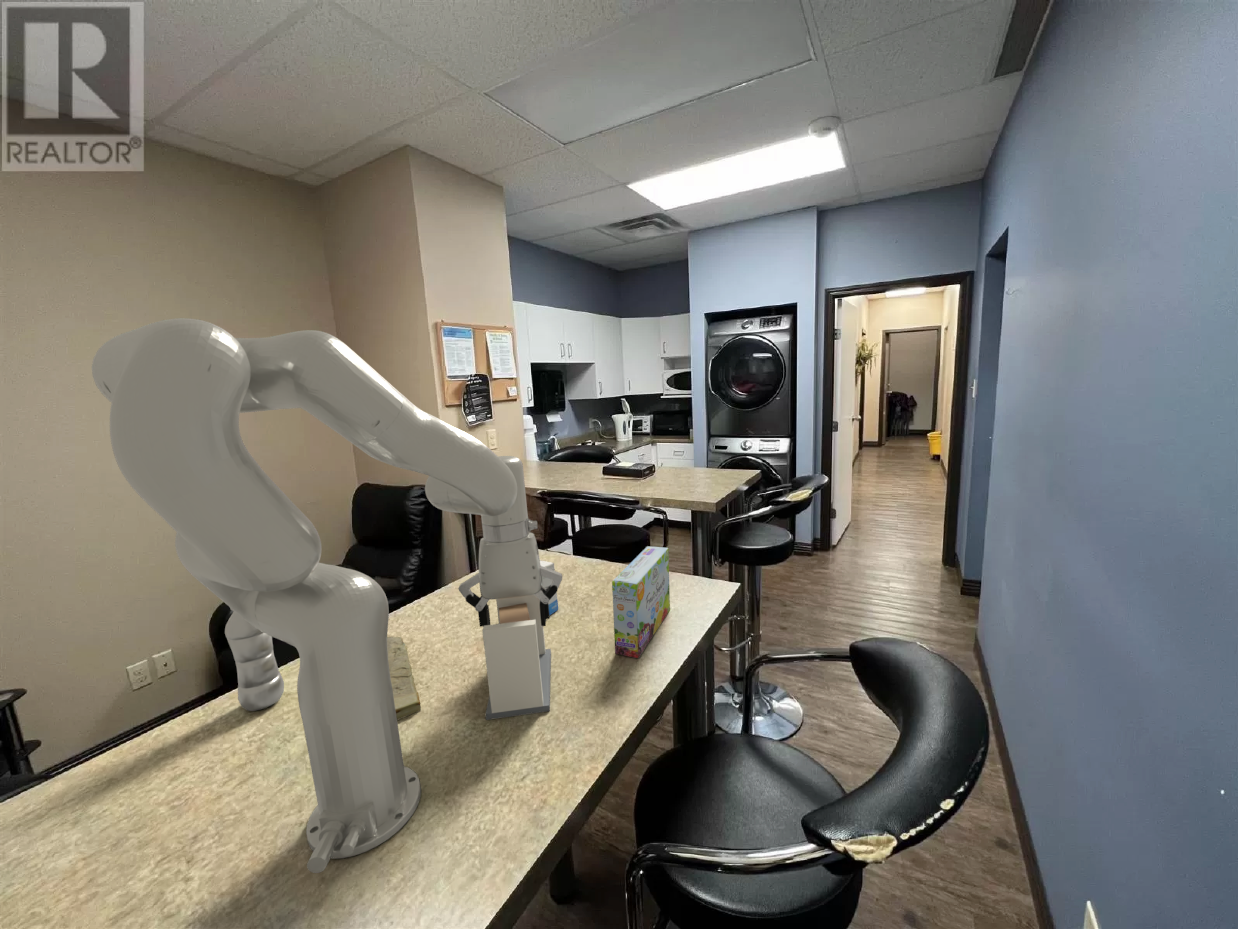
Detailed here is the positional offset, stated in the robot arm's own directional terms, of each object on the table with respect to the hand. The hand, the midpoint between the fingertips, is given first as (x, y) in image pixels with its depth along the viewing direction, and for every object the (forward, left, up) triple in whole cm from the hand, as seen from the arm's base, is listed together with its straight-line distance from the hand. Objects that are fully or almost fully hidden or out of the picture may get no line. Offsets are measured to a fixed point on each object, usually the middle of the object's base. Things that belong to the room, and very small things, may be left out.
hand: (515, 626), depth 83 cm
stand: (0, 0, -11) cm, 11 cm away
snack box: (+13, -25, -11) cm, 30 cm away
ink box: (+28, -2, -11) cm, 30 cm away
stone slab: (+8, +27, -12) cm, 30 cm away
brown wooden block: (0, 0, -3) cm, 3 cm away
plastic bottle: (+4, +44, -11) cm, 46 cm away
